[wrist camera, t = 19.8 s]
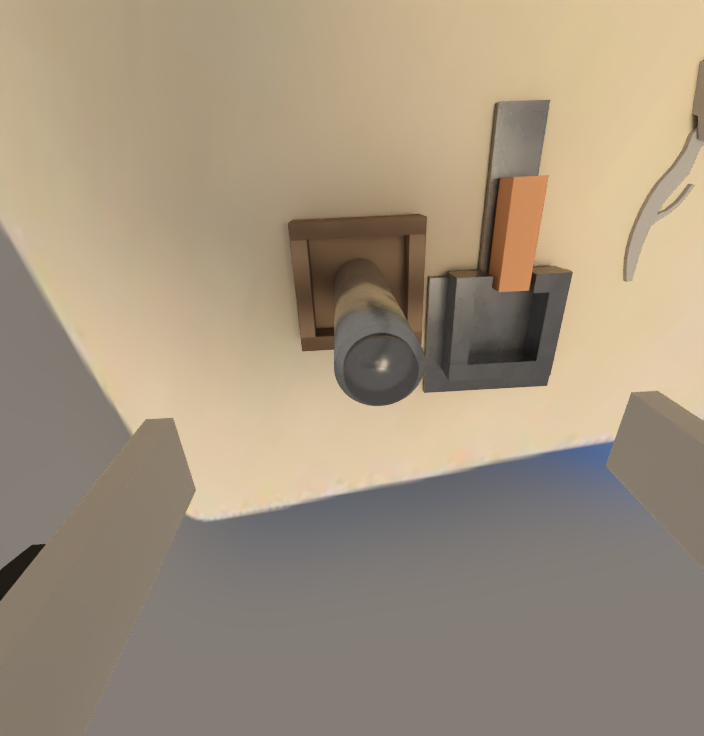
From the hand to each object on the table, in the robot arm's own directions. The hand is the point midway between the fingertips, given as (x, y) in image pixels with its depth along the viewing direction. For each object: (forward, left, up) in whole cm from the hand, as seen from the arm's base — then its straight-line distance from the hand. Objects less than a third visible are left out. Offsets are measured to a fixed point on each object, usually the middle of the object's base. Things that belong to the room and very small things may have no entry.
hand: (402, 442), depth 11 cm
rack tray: (0, 0, -23) cm, 23 cm away
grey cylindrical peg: (0, 0, -22) cm, 22 cm away
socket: (0, +12, -22) cm, 25 cm away
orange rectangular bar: (-3, +12, -23) cm, 26 cm away
